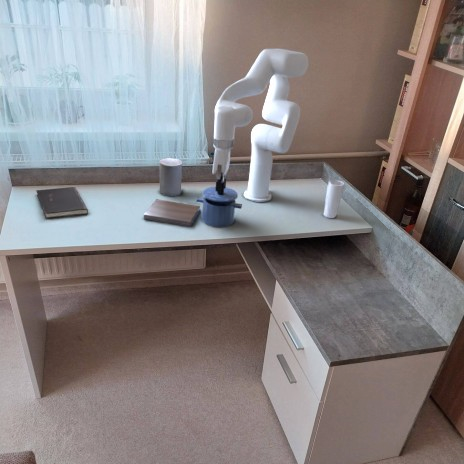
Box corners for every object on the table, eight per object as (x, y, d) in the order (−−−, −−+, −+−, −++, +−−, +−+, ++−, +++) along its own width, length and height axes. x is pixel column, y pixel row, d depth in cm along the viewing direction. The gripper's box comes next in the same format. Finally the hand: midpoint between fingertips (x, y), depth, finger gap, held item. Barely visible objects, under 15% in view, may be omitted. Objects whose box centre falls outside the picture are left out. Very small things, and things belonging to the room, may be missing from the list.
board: (156, 203, 204) (156, 199, 203) (200, 210, 202) (200, 205, 201) (143, 219, 191) (143, 214, 190) (190, 226, 189) (190, 221, 188)
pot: (200, 210, 202) (200, 190, 197) (242, 216, 200) (244, 197, 195) (192, 222, 192) (193, 202, 187) (237, 230, 190) (239, 210, 185)
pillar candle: (155, 193, 212) (155, 159, 204) (166, 186, 220) (166, 153, 211) (175, 198, 210) (175, 164, 201) (185, 190, 217) (186, 158, 209)
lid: (207, 187, 197) (207, 171, 193) (240, 192, 195) (241, 176, 191) (199, 200, 186) (199, 183, 182) (234, 205, 184) (235, 189, 180)
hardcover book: (45, 218, 184) (45, 213, 183) (36, 195, 200) (36, 190, 199) (88, 214, 190) (87, 208, 189) (76, 191, 207) (75, 186, 205)
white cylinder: (338, 214, 210) (345, 181, 202) (335, 220, 205) (343, 187, 196) (323, 211, 212) (330, 178, 203) (320, 217, 207) (327, 183, 198)
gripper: (218, 135, 185) (215, 181, 196) (208, 147, 172) (206, 196, 183) (237, 137, 184) (233, 183, 195) (229, 150, 171) (225, 199, 182)
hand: (220, 189), depth 189 cm, fingers closed on lid, 2 cm apart
